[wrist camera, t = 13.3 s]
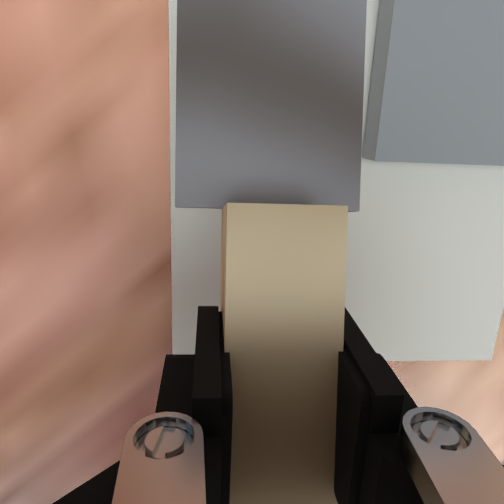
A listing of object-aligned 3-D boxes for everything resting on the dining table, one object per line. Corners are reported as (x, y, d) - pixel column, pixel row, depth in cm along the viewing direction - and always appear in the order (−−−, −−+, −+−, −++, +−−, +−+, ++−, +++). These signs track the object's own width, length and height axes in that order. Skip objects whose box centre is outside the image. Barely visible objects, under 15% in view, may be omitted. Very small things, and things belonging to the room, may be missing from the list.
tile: (564, 167, 18) (620, -60, 16) (374, 161, 17) (404, -80, 15) (536, 163, 20) (582, -44, 17) (360, 157, 19) (385, -62, 17)
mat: (484, 354, 23) (491, 360, 23) (173, 357, 22) (172, 363, 21) (585, -103, 17) (598, -110, 17) (168, -146, 16) (166, -156, 15)
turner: (340, 545, 13) (387, 657, 10) (172, 554, 13) (159, 675, 9) (359, -4, 12) (418, -92, 9) (178, -17, 12) (166, -116, 8)
